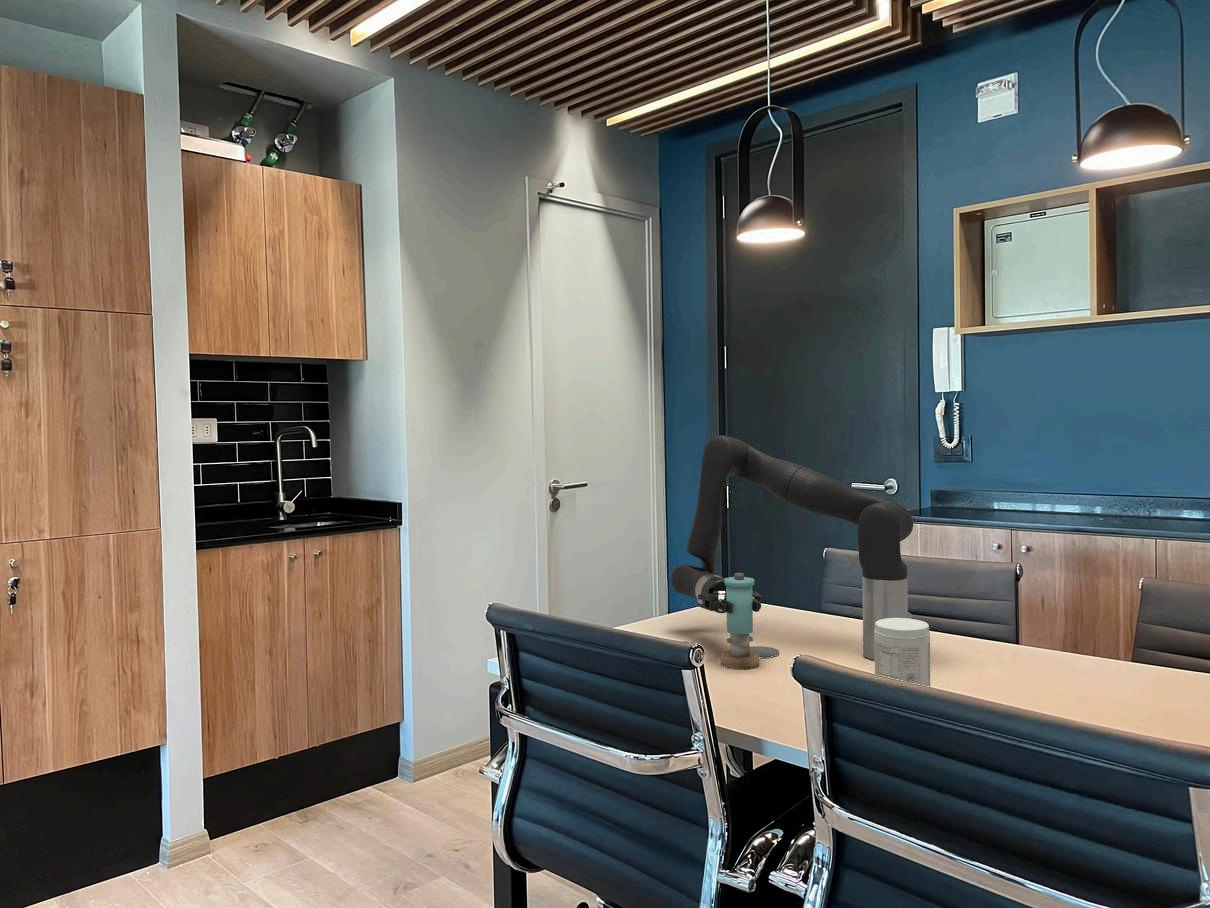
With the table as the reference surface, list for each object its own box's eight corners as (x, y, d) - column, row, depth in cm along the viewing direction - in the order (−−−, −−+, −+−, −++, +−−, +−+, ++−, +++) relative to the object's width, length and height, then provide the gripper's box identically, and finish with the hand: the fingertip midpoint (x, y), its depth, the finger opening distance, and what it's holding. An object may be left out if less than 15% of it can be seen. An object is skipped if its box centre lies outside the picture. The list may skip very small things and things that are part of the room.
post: (750, 658, 196) (750, 625, 195) (765, 667, 188) (765, 634, 188) (715, 660, 194) (715, 628, 194) (729, 670, 186) (728, 637, 186)
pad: (770, 647, 204) (770, 645, 204) (785, 656, 196) (784, 653, 196) (736, 650, 202) (736, 647, 202) (750, 659, 195) (750, 656, 194)
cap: (748, 627, 194) (747, 570, 194) (759, 633, 188) (758, 575, 188) (720, 629, 193) (720, 572, 192) (731, 635, 187) (730, 576, 186)
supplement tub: (894, 692, 169) (894, 614, 169) (941, 704, 162) (941, 623, 162) (863, 703, 163) (863, 622, 163) (911, 716, 156) (910, 631, 155)
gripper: (685, 578, 203) (711, 591, 186) (745, 574, 206) (776, 587, 189) (686, 611, 203) (711, 628, 186) (746, 607, 206) (776, 623, 190)
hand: (744, 607), depth 188 cm, fingers closed on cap, 5 cm apart
